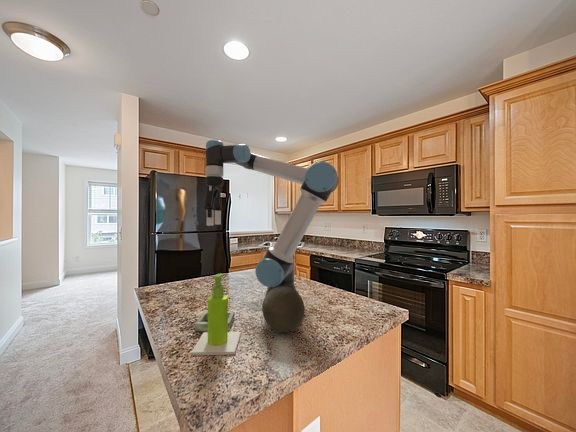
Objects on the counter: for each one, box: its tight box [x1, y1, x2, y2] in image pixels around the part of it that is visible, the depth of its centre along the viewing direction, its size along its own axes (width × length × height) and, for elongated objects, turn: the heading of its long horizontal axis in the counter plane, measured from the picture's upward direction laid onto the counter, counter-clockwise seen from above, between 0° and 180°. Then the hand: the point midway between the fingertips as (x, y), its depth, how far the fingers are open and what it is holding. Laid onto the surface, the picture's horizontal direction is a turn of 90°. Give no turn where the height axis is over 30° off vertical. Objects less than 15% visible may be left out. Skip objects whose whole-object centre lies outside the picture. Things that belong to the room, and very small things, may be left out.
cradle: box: [194, 311, 235, 332], centre depth 90 cm, size 11×10×2 cm
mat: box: [190, 331, 242, 356], centre depth 76 cm, size 12×12×1 cm
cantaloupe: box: [261, 286, 306, 334], centre depth 84 cm, size 14×14×15 cm
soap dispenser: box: [207, 272, 229, 346], centre depth 77 cm, size 6×7×20 cm
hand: (214, 225), depth 110 cm, fingers open, 13 cm apart
